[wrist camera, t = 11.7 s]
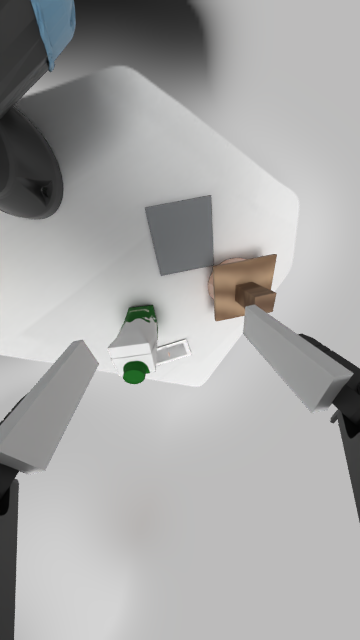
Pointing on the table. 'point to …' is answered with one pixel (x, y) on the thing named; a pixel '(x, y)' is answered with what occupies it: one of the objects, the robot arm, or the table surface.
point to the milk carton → (136, 345)
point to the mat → (182, 234)
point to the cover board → (236, 277)
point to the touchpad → (172, 352)
